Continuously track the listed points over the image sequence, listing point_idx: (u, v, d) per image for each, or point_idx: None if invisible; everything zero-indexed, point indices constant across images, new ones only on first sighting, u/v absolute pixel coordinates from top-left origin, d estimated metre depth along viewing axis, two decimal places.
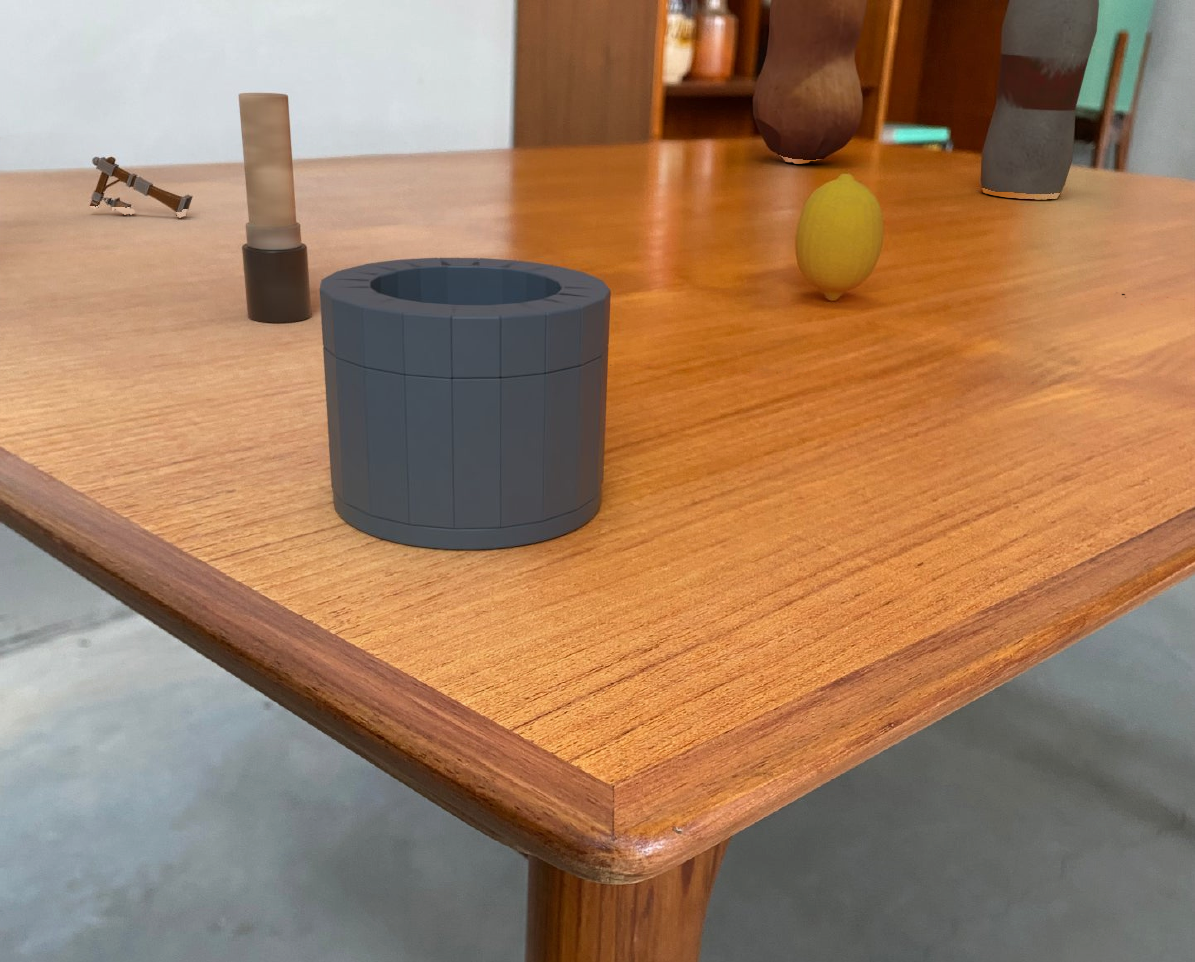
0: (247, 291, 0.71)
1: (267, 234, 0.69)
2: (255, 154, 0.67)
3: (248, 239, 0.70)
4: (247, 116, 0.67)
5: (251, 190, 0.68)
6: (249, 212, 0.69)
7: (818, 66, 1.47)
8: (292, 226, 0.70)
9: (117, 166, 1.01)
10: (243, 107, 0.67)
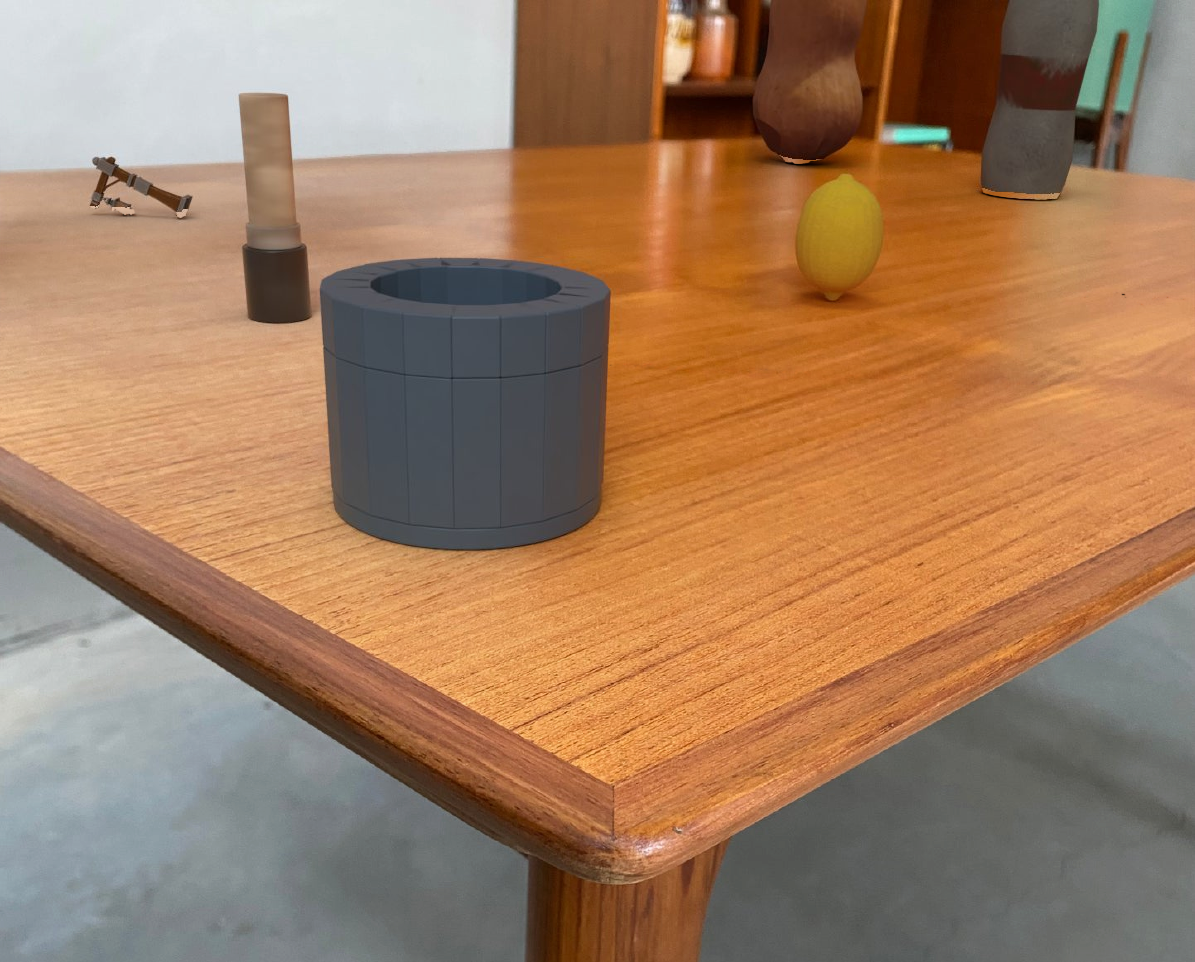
0: (247, 291, 0.71)
1: (267, 234, 0.69)
2: (255, 154, 0.67)
3: (248, 239, 0.70)
4: (247, 116, 0.67)
5: (251, 190, 0.68)
6: (249, 212, 0.69)
7: (818, 66, 1.47)
8: (292, 226, 0.70)
9: (117, 166, 1.01)
10: (243, 107, 0.67)
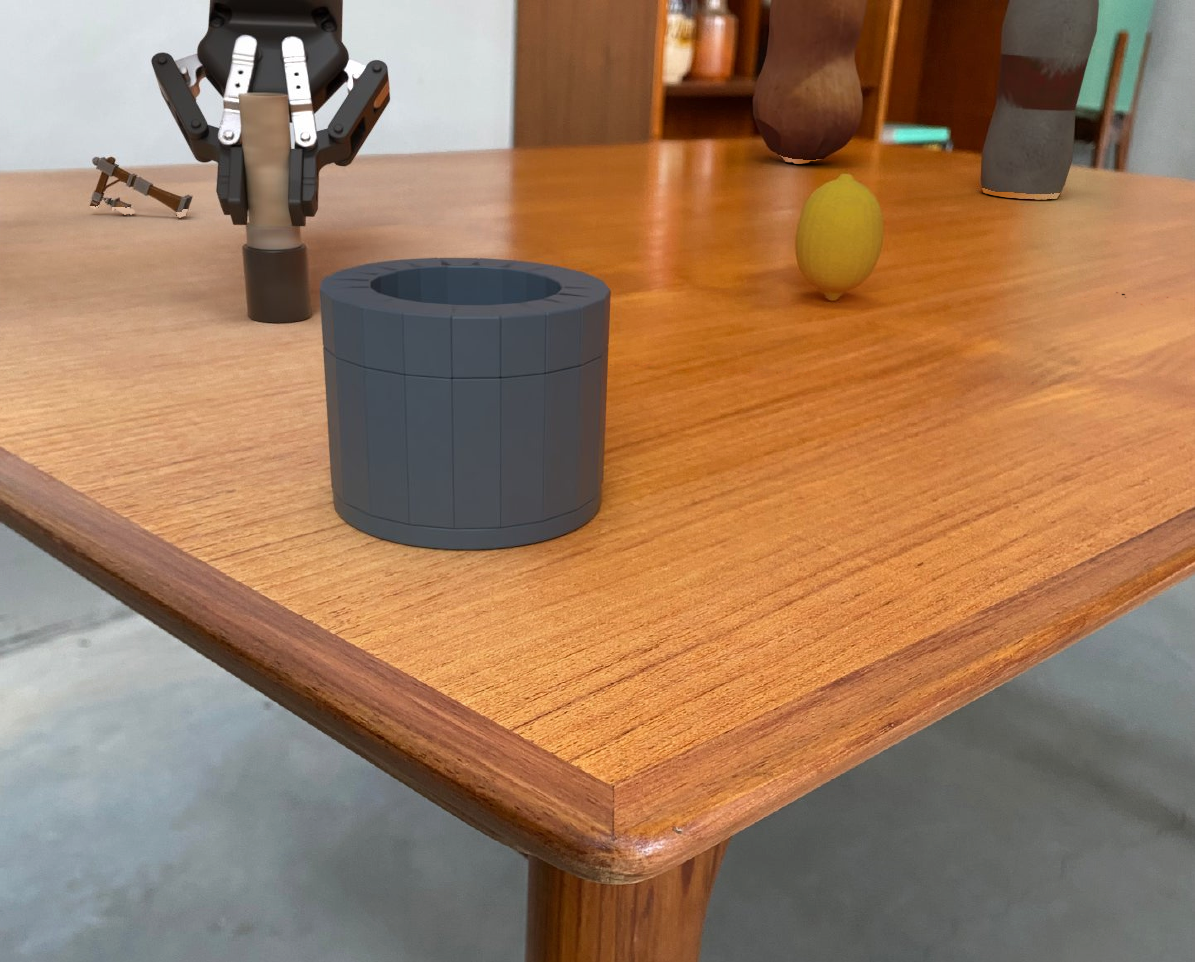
0: (247, 291, 0.71)
1: (267, 234, 0.69)
2: (255, 154, 0.67)
3: (248, 239, 0.70)
4: (247, 116, 0.67)
5: (251, 190, 0.68)
6: (249, 212, 0.69)
7: (818, 66, 1.47)
8: (292, 226, 0.70)
9: (117, 166, 1.01)
10: (243, 107, 0.67)
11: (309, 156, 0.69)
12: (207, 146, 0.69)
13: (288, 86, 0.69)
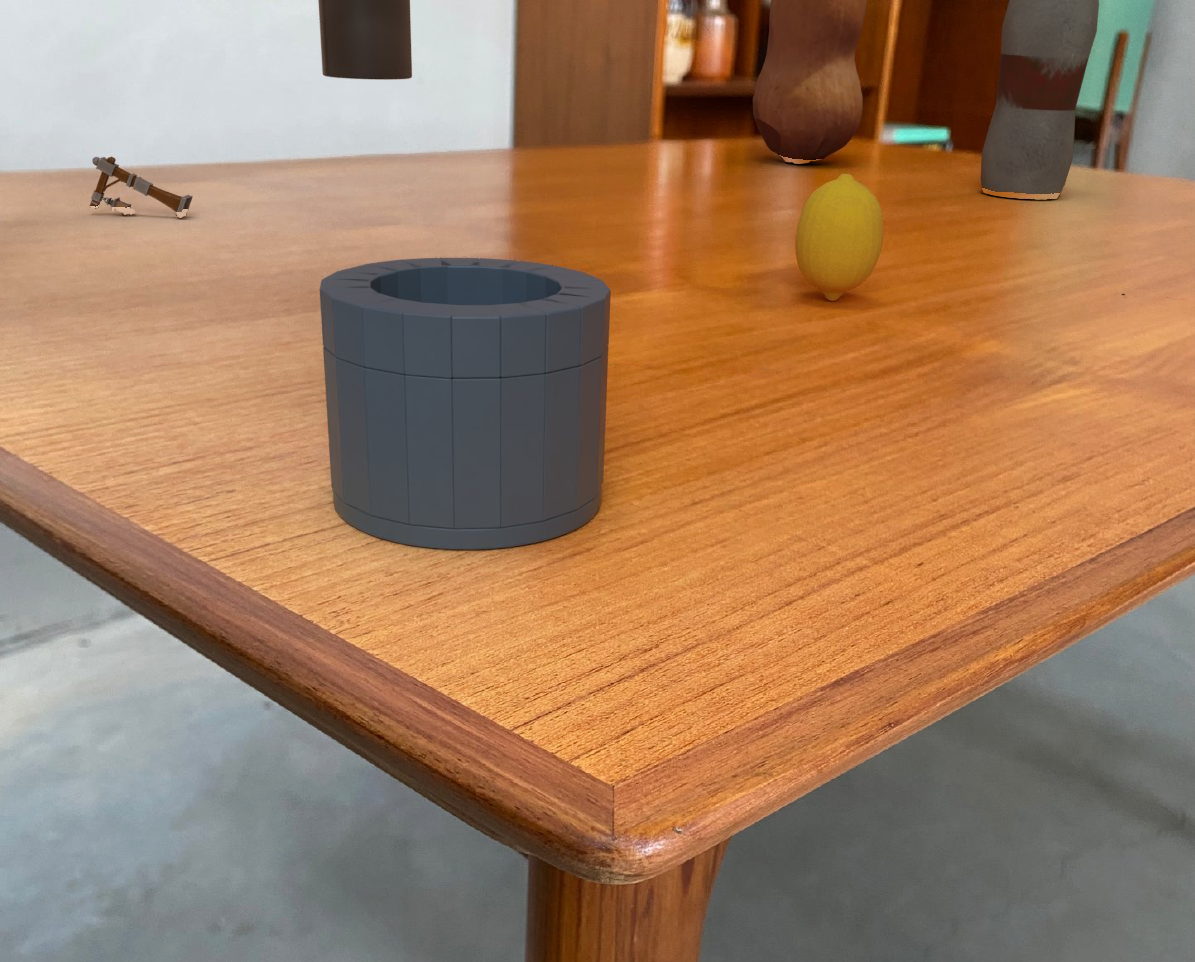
0: (324, 34, 0.49)
1: None
2: None
3: None
4: None
5: None
6: None
7: (818, 66, 1.47)
8: None
9: (117, 166, 1.01)
10: None
11: None
12: None
13: None
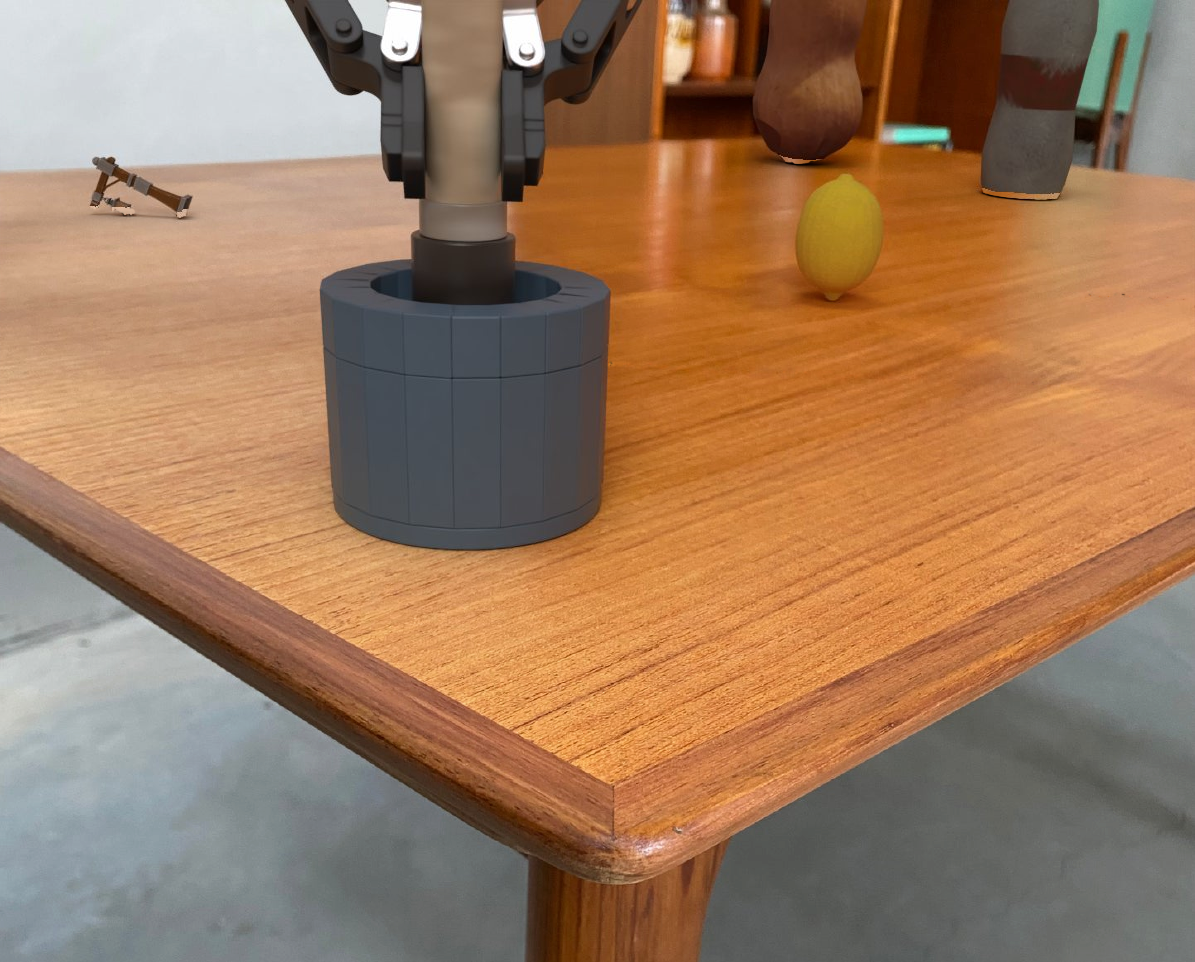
0: None
1: (458, 215, 0.41)
2: (447, 79, 0.40)
3: (424, 223, 0.42)
4: (438, 10, 0.39)
5: (435, 140, 0.41)
6: (428, 178, 0.41)
7: (818, 66, 1.47)
8: (498, 202, 0.42)
9: (117, 166, 1.01)
10: None
11: (532, 84, 0.41)
12: (360, 66, 0.41)
13: None
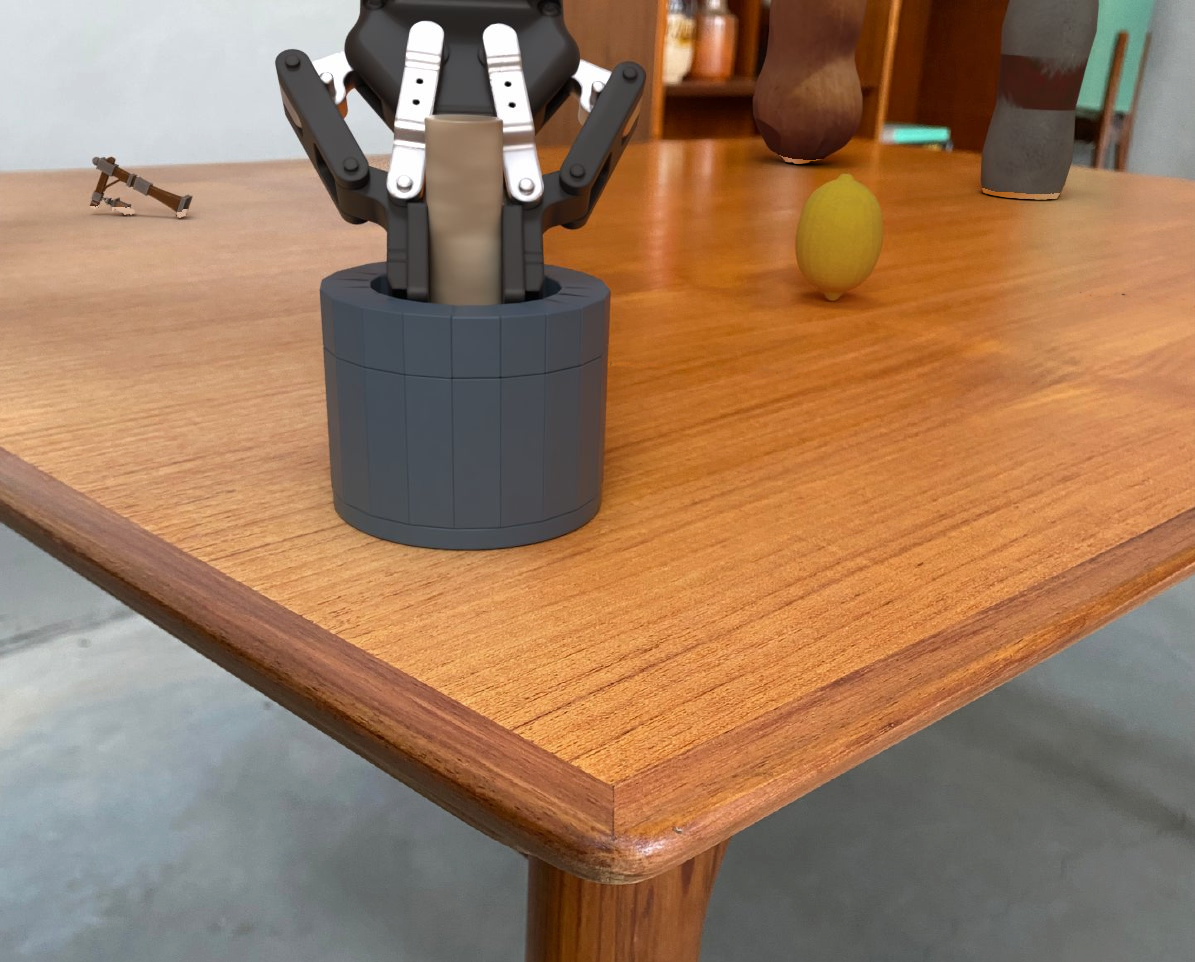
0: None
1: None
2: (450, 216, 0.41)
3: None
4: (441, 153, 0.41)
5: (439, 272, 0.42)
6: None
7: (818, 66, 1.47)
8: None
9: (117, 166, 1.01)
10: (434, 139, 0.41)
11: (531, 217, 0.43)
12: (367, 200, 0.42)
13: (496, 104, 0.43)
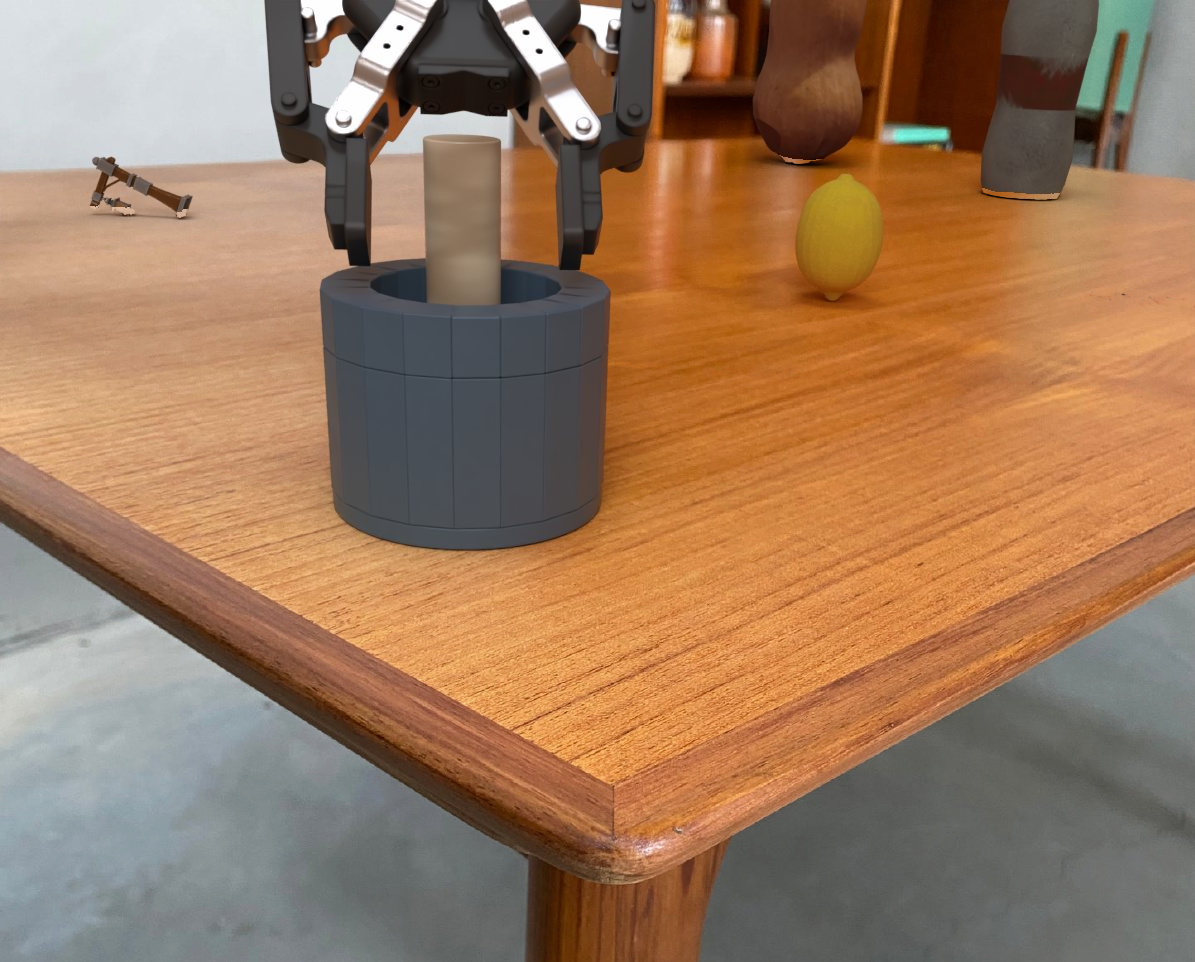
0: None
1: None
2: (448, 235, 0.42)
3: None
4: (439, 174, 0.41)
5: (437, 291, 0.43)
6: None
7: (818, 66, 1.47)
8: None
9: (117, 166, 1.01)
10: (432, 160, 0.41)
11: (597, 154, 0.42)
12: (306, 137, 0.42)
13: (524, 54, 0.42)
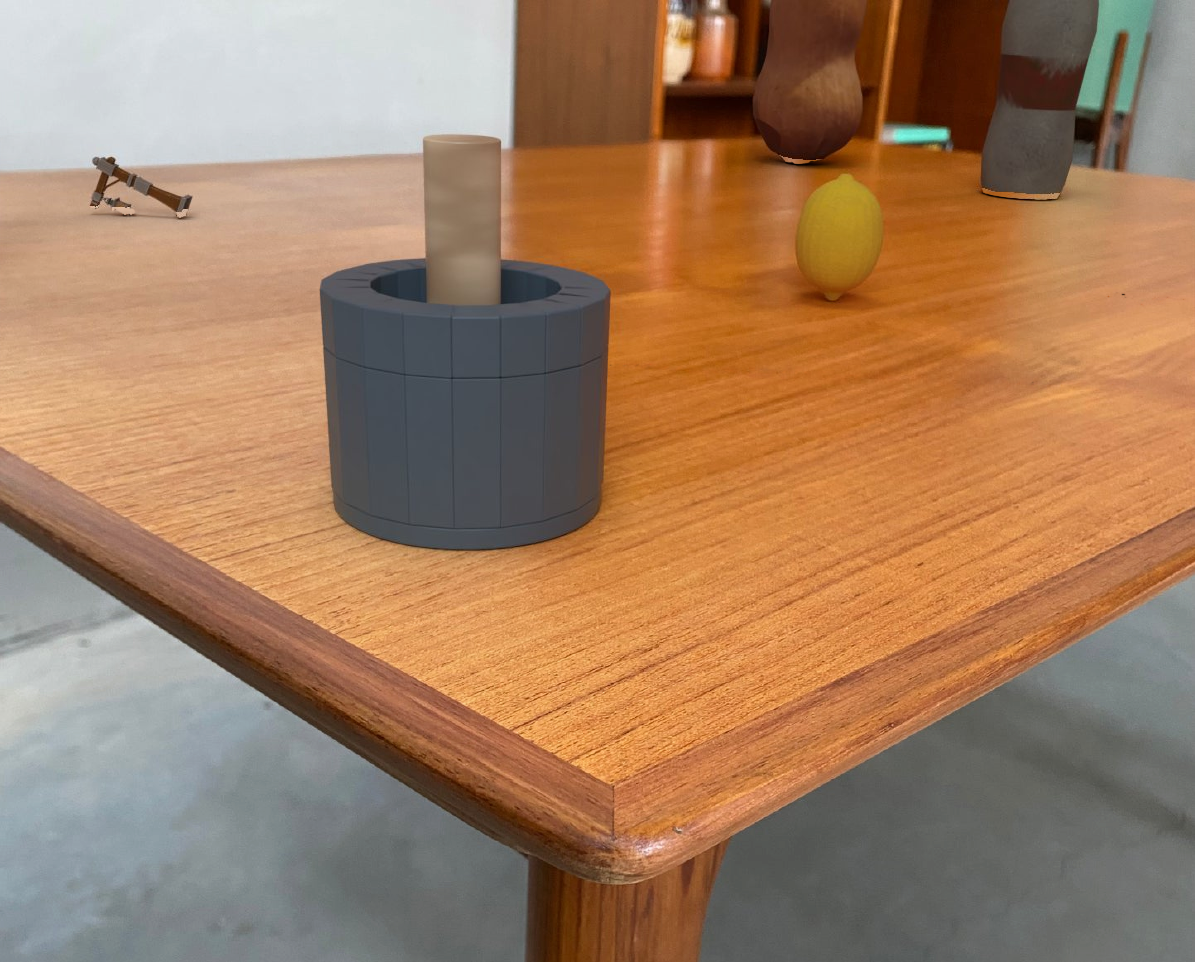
0: None
1: None
2: (448, 235, 0.42)
3: None
4: (439, 174, 0.41)
5: (437, 291, 0.43)
6: None
7: (818, 66, 1.47)
8: None
9: (117, 166, 1.01)
10: (432, 160, 0.41)
11: None
12: None
13: None
